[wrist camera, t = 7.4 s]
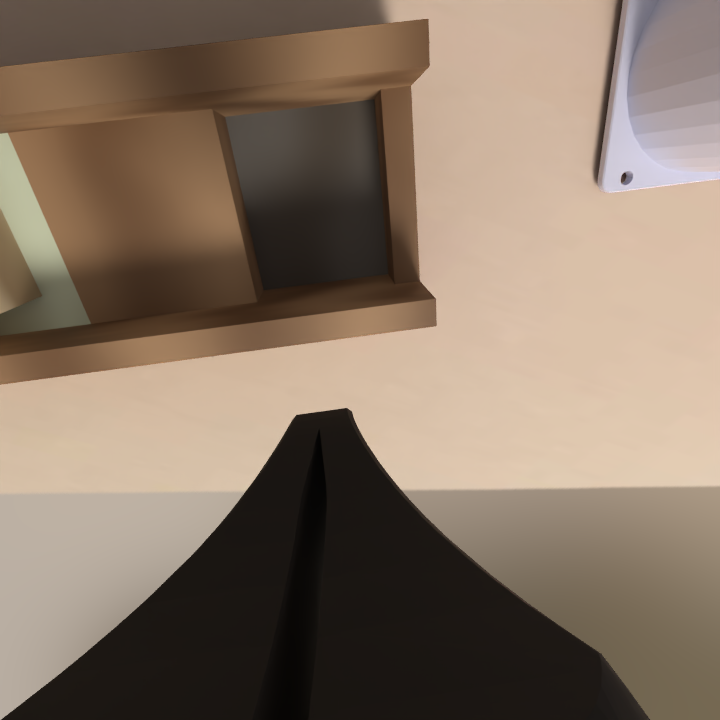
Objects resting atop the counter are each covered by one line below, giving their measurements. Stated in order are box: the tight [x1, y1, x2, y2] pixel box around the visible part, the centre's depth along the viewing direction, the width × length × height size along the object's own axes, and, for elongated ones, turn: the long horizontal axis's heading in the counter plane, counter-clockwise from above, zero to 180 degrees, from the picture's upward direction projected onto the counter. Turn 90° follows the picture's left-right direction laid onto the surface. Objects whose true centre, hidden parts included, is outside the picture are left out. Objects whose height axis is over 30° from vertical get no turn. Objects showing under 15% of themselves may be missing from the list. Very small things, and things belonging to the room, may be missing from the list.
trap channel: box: [0, 19, 436, 385], centre depth 14 cm, size 26×8×4 cm, turn 96°
